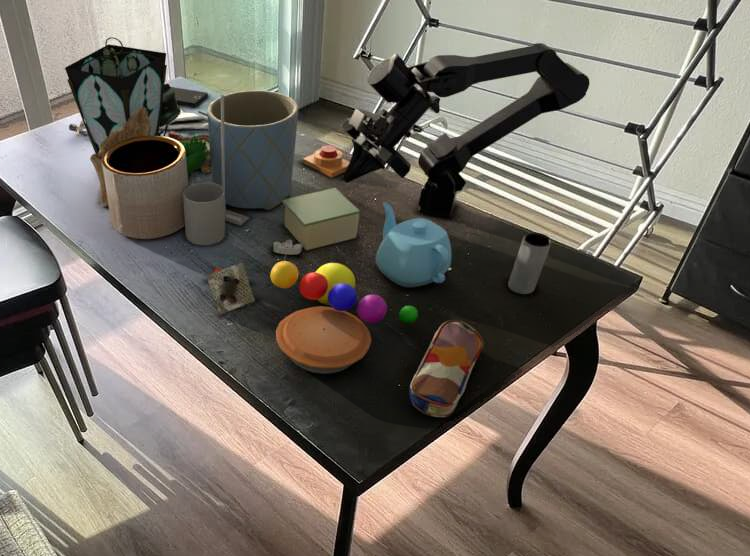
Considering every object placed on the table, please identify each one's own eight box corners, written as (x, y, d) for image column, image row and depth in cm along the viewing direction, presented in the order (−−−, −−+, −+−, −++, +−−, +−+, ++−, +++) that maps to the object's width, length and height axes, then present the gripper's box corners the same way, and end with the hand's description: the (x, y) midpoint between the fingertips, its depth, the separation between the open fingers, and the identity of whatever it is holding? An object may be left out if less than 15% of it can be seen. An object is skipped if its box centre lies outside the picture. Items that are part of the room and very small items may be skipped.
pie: (388, 355, 113) (392, 332, 109) (320, 397, 107) (323, 375, 103) (322, 311, 123) (324, 289, 119) (257, 347, 116) (257, 325, 113)
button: (339, 155, 161) (340, 148, 160) (328, 160, 159) (329, 153, 158) (328, 150, 163) (329, 143, 162) (317, 155, 162) (318, 148, 161)
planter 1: (202, 204, 152) (198, 138, 142) (173, 247, 141) (166, 180, 130) (131, 194, 158) (122, 131, 147) (98, 236, 147) (85, 170, 136)
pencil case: (419, 307, 112) (410, 328, 115) (411, 395, 99) (402, 416, 103) (488, 322, 110) (477, 343, 114) (489, 414, 97) (476, 434, 101)
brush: (211, 83, 134) (252, 93, 129) (214, 206, 152) (249, 218, 148) (200, 90, 132) (241, 99, 127) (204, 214, 150) (239, 226, 146)
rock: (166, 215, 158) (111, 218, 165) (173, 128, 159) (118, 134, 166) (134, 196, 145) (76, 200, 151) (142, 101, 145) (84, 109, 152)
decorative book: (143, 158, 167) (143, 139, 164) (202, 145, 175) (203, 126, 171) (171, 182, 159) (172, 162, 156) (231, 167, 167) (234, 147, 163)
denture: (176, 146, 178) (150, 152, 174) (175, 129, 176) (149, 136, 172) (188, 150, 174) (162, 157, 170) (187, 134, 172) (161, 140, 168)
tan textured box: (206, 275, 122) (193, 279, 127) (219, 314, 123) (206, 316, 128) (242, 262, 125) (228, 266, 130) (255, 300, 126) (240, 302, 131)
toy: (207, 215, 155) (235, 163, 144) (177, 220, 150) (203, 167, 139) (170, 166, 161) (193, 112, 150) (139, 169, 156) (162, 114, 145)
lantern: (173, 155, 172) (164, 30, 152) (136, 184, 162) (121, 54, 142) (121, 143, 179) (105, 22, 159) (82, 170, 169) (60, 44, 149)
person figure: (121, 141, 180) (120, 129, 178) (66, 142, 181) (64, 130, 179) (126, 125, 189) (125, 113, 187) (73, 125, 190) (71, 114, 188)
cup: (230, 228, 145) (230, 186, 139) (216, 248, 140) (215, 205, 133) (195, 221, 148) (192, 179, 142) (179, 240, 143) (176, 198, 136)
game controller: (299, 243, 139) (299, 232, 137) (309, 276, 131) (310, 265, 129) (271, 245, 139) (272, 234, 138) (279, 278, 131) (280, 267, 129)
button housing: (353, 168, 161) (354, 156, 159) (331, 177, 159) (332, 165, 157) (323, 154, 168) (324, 142, 165) (302, 163, 165) (303, 151, 163)
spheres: (285, 282, 130) (260, 292, 115) (299, 245, 128) (275, 250, 113) (411, 332, 122) (401, 349, 108) (428, 293, 120) (421, 305, 105)
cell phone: (194, 106, 194) (194, 103, 193) (140, 97, 200) (140, 94, 200) (208, 95, 199) (208, 92, 199) (155, 87, 206) (155, 84, 205)
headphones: (187, 144, 171) (134, 148, 185) (199, 93, 171) (145, 101, 185) (151, 122, 161) (98, 128, 175) (163, 68, 161) (109, 79, 175)
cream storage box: (306, 250, 137) (308, 226, 133) (284, 225, 145) (285, 201, 141) (356, 237, 140) (359, 213, 136) (332, 213, 147) (334, 190, 143)
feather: (143, 127, 157) (150, 124, 156) (189, 128, 182) (195, 125, 181) (146, 134, 157) (153, 131, 157) (191, 134, 182) (197, 131, 181)
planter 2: (198, 207, 152) (194, 121, 139) (225, 169, 165) (224, 86, 151) (280, 220, 146) (284, 131, 133) (302, 178, 159) (308, 94, 145)
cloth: (127, 114, 192) (126, 106, 191) (165, 100, 198) (165, 92, 197) (184, 143, 177) (183, 134, 175) (224, 126, 182) (223, 118, 181)
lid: (304, 226, 133) (304, 224, 133) (282, 202, 141) (282, 199, 140) (359, 213, 136) (360, 210, 135) (334, 190, 143) (335, 187, 143)
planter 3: (536, 295, 122) (554, 247, 115) (509, 293, 123) (525, 245, 116) (532, 280, 125) (549, 232, 118) (506, 278, 126) (521, 231, 119)
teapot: (409, 190, 131) (479, 232, 119) (400, 237, 138) (465, 281, 126) (357, 209, 127) (424, 254, 115) (350, 256, 135) (413, 303, 123)
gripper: (354, 76, 132) (299, 141, 138) (406, 111, 119) (343, 181, 124) (384, 108, 139) (331, 169, 144) (437, 144, 126) (376, 209, 131)
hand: (344, 181), depth 136 cm, fingers closed
